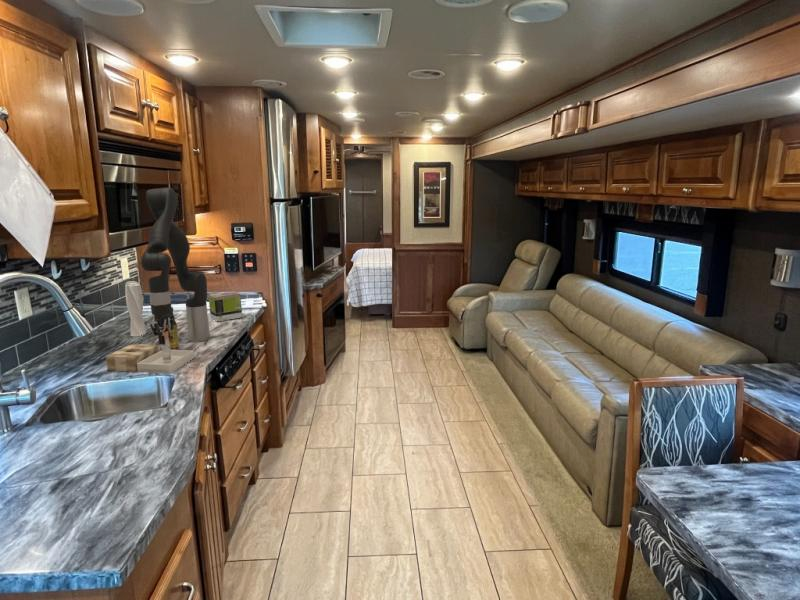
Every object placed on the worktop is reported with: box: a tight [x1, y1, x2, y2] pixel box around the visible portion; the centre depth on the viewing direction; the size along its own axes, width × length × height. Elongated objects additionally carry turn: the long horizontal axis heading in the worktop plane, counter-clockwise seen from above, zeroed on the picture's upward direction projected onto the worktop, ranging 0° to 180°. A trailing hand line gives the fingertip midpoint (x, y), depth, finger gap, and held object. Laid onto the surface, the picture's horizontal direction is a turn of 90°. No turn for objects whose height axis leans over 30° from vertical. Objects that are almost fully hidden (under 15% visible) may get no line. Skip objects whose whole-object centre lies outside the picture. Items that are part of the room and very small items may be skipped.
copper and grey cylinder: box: [160, 330, 171, 360], centre depth 196 cm, size 3×3×12 cm
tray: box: [137, 349, 195, 374], centre depth 198 cm, size 18×14×4 cm
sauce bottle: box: [169, 306, 180, 350], centre depth 214 cm, size 7×6×20 cm
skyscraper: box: [124, 280, 148, 337], centre depth 236 cm, size 8×8×28 cm
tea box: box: [207, 290, 243, 322], centre depth 269 cm, size 15×10×15 cm, turn 130°
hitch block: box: [105, 343, 160, 373], centre depth 198 cm, size 16×12×6 cm
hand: (165, 342), depth 196 cm, fingers closed on copper and grey cylinder, 3 cm apart
